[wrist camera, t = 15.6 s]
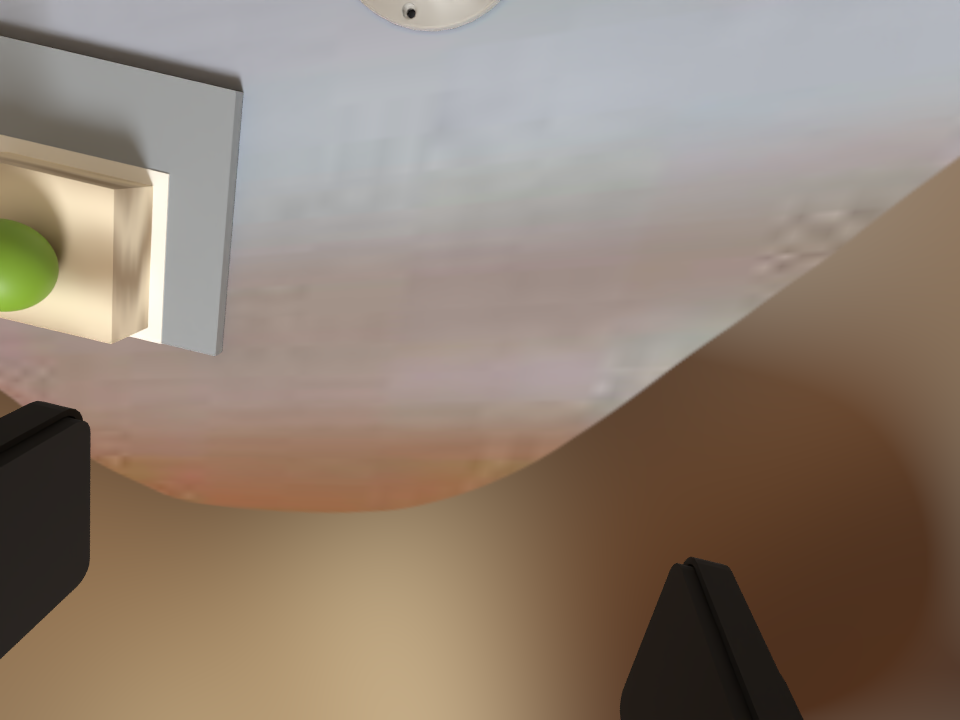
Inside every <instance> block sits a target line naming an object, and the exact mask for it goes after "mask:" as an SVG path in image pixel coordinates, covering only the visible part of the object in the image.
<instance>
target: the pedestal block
mask: <svg viewBox="0 0 960 720" xmlns="http://www.w3.org/2000/svg"><path fill="white" fill-rule="evenodd" d="M152 209H153V186H151V185H146V184H142V183H138V182H134V181H129V180H125V179H121V178H117V177H112V176H108V175H104V174H100V173H95V172H91V171H87V170H83V169H78V168H74V167H70V166H66V165H61V164H57V163H53V162H49V161H44V160H40V159H36V158H32V157H27V156H23V155H19V154H15V153H10V152H0V218H1V219H9V220H13V221H17V222H20V223H22V224H25V225H27V226H29V227H31V228H32V229H34V230H36V231H37V232H38V233H40V234H41V235H42V236H43V237H44V238H45V239H46V240H47V241H48V242H49V244H50V245H51V246H52V248H53V250H54V252H55V254H56V256H57V259H58V265H59V274H58V279H57V282H56V285H55V287H54V288H53V290H52V291H51V293H50V294H49V295H48V296H47V297H46V298H45V299H44V300H42V301H41V302H39V303H38V304H36V305H34V306H32V307H30V308H27V309H23V310H19V311H12V312H0V318H4V319H8V320H13V321H17V322H21V323H25V324H29V325H34V326H38V327H42V328H46V329H50V330H55V331H59V332H63V333H67V334H71V335H76V336H80V337H84V338H88V339H92V340H97V341H101V342H105V343H109V344H113V343H115V342H117V341H119V340H122V339H124V338H126V337H128V336H130V335H133V334H135V333H137V332H139V331H142V330H144V329H146V328H148V313H149V287H150V261H151V235H152Z"/></svg>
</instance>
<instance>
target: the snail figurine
mask: <svg viewBox="0 0 960 720" xmlns="http://www.w3.org/2000/svg"><path fill="white" fill-rule="evenodd" d="M58 274H59V265H58V259H57V256H56V254H55V252H54V250H53V248H52V246H51V245H50V244H49V242H48V241H47V240H46V239H45V238H44V237H43V236H42V235H41V234H40V233H38V232H37V231H36V230H34V229H32V228H31V227H29V226H27V225H25V224H22V223H20V222H17V221H13V220H9V219H1V218H0V312H12V311H19V310H23V309H27V308H30V307H32V306H34V305H36V304H38V303H39V302H41V301H42V300H44V299H45V298H46V297H47V296H48V295H49V294H50V293H51V291H52V290H53V288H54V287H55V285H56V282H57V279H58Z"/></svg>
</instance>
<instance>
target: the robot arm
mask: <svg viewBox="0 0 960 720" xmlns="http://www.w3.org/2000/svg"><path fill="white" fill-rule="evenodd" d="M360 1H361V2H362V3H363V4H364V5H365V6H366V7H368V8H369V9H370V10H372V11H373V12H374V13H375V14H377V15H378V16H380V17H382V18H384V19H386V20H388V21H390V22H391V23H393V24H395V25H398V26H402V27H405V28H409V29H412V30H420V31H441V30H448V29H454V28H457V27H459V26H462V25H465V24H467V23H470V22H473V21H474V20H476V19H478V18H479V17H481V16H482V15H484V14H485V13H487V12H489V11H490V10H491V9H492V8H493V7H495V6H496V5H497V4H498V3H499V2H500V1H501V0H360ZM410 10H415V17H414V18H409V17H408V13H409V11H410ZM89 561H90V427H89V425H88V423H87V422H85V421H83V418H82V416H81V414H80V412H79V411H77V410H76V409H72V408H68V407H63V406H59V405H55V404H51V403H47V402H42V401H35V402H32V403H29V404H27V405H25V406H23V407H21V408H19V409H17V410H15V411H13V412H11V413H9V414H7V415H5V416H3V417H1V418H0V659H1V658H2V657H3V656H4V655H5V654H6V653H7V652H8V651H9V650H10V649H11V648H12V647H14V645H16V643H18V642H19V641H20V640H21V639H22V638H23V637H24V636H25V635H26V634H27V633H28V632H29V631H30V630H31V629H33V628H34V627H35V626H36V625H37V624H38V623H39V622H40V621H41V620H42V619H43V618H44V617H45V616H46V615H47V614H48V613H49V612H50V611H52V610H53V609H54V608H55V607H56V606H57V605H58V604H59V603H60V602H61V601H62V600H63V599H64V598H65V597H66V596H67V595H68V594H69V593H71V592H72V590H74V589H75V588H76V587H77V586H78V585H79V584H80V582H81V581H82V579H83V578H84V576H85V574H86V572H87V570H88V567H89ZM620 717H621V720H803V718H802V716H801V714H800V712H799V709H798V707H797V705H796V703H795V701H794V699H793V697H792V695H791V693H790V691H789V688H788V686H787V684H786V682H785V681H784V679H783V678H782V676H781V674H780V673H779V671H778V669H777V667H776V664H775V663H774V660H773V658H772V656H771V654H770V652H769V650H768V647H767V645H766V644H765V641H764V639H763V637H762V635H761V633H760V631H759V629H758V626H757V624H756V622H755V620H754V618H753V616H752V613H751V611H750V609H749V607H748V605H747V603H746V601H745V599H744V597H743V594H742V593H741V590H740V588H739V586H738V584H737V582H736V580H735V577H734V575H733V573H732V571H731V570H730V568H729V567H728V566H726V565H723V564H719V563H715V562H710V561H706V560H703V559H698V558H694V557H689V558H688V559H687V560H686V561H685V562H684V564H678V563H676V564H674V565H673V566H672V568H671V570H670V572H669V575H668V577H667V580H666V582H665V584H664V587H663V590H662V592H661V595H660V597H659V600H658V602H657V605H656V607H655V610H654V613H653V615H652V617H651V620H650V623H649V625H648V628H647V630H646V633H645V635H644V638H643V640H642V643H641V645H640V648H639V650H638V653H637V656H636V658H635V661H634V663H633V666H632V668H631V671H630V673H629V676H628V678H627V681H626V683H625V686H624V689H623V692H622V696H621V703H620Z"/></svg>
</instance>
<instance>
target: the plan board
mask: <svg viewBox="0 0 960 720" xmlns="http://www.w3.org/2000/svg"><path fill="white" fill-rule="evenodd" d="M242 102H243V92H239V91H235V90H231V89H226V88H222V87H218V86H214V85H209V84H205V83H201V82H196V81H192V80H188V79H184V78H179V77H175V76H171V75H167V74H162V73H158V72H154V71H149V70H145V69H141V68H137V67H132V66H128V65H124V64H119V63H115V62H111V61H107V60H102V59H98V58H94V57H90V56H85V55H81V54H77V53H72V52H68V51H64V50H60V49H55V48H51V47H47V46H43V45H38V44H34V43H30V42H25V41H21V40H17V39H13V38H8V37H4V36H0V152H10V153H15V154H19V155H23V156H27V157H32V158H36V159H40V160H44V161H49V162H53V163H57V164H61V165H66V166H70V167H74V168H78V169H83V170H87V171H91V172H95V173H100V174H104V175H108V176H112V177H117V178H121V179H125V180H129V181H134V182H138V183H142V184H146V185H151V186H153V209H152V235H151V261H150V287H149V313H148V328H146V329H144V330H142V331H139V332H137V333H135V334H133V335H130V337H134V338H139V339H143V340H147V341H151V342H156V343H160V344H161V343H162V344H166V345H171V346H175V347H179V348H183V349H187V350H192V351H196V352H200V353H204V354H208V355H213V356H216V355H218V354H219V353H221V352H222V345H223V333H224V321H225V309H226V297H227V285H228V272H229V260H230V248H231V236H232V224H233V211H234V199H235V187H236V175H237V163H238V150H239V138H240V126H241V114H242Z"/></svg>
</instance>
